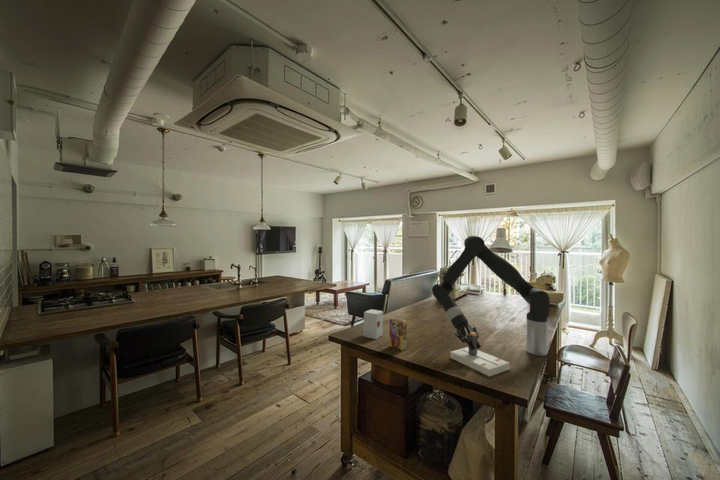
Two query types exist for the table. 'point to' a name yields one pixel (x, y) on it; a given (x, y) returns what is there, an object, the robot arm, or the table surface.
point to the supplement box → (373, 324)
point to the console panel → (480, 361)
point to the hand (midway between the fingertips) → (476, 348)
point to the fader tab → (474, 340)
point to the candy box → (398, 333)
